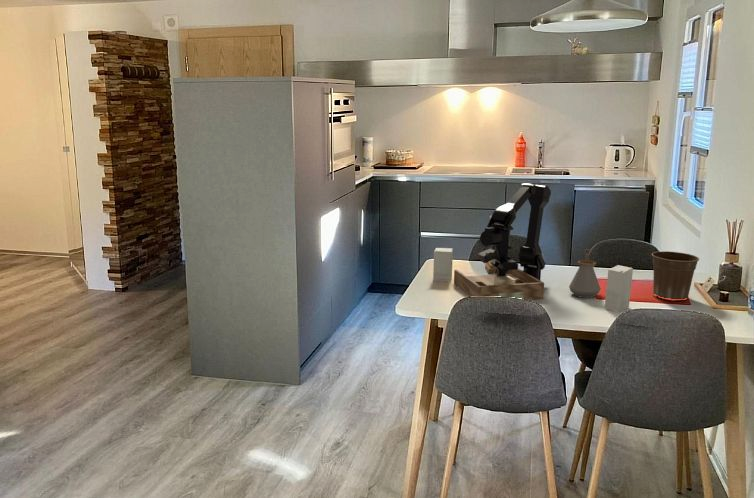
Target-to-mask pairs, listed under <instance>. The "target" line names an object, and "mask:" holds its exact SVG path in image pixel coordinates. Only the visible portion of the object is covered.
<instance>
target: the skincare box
mask: <svg viewBox="0 0 754 498" xmlns="http://www.w3.org/2000/svg"><path fill="white" fill-rule="evenodd" d="M633 270H634V268H632V267H630V266H629V267H628V266H623V265H619V264H617V265H615V266H614V267H611V268H609V269H608V271H607V281H606V290H605V301H604V309H606V310H608V309H609V311H613V312H616V311H617V313H621V312H622V311H624V310H626V309H628V308H629V307H630V303H631V302H630V300H631V292H632V291H631V290H632V284H633V283H632V282H633V272H634V271H633Z"/></svg>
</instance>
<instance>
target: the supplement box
mask: <svg viewBox="0 0 754 498" xmlns="http://www.w3.org/2000/svg"><path fill="white" fill-rule="evenodd" d="M453 252H454V248H451V247H450V248H449V247H435V248H434V251H433V268H432V269H433V271H432V272H433V273H432V275H433V276H432V281H433V282H443V283H445V282H447V283H451V281H452V278H453V256H454V255H453Z"/></svg>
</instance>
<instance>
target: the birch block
mask: <svg viewBox="0 0 754 498" xmlns="http://www.w3.org/2000/svg"><path fill="white" fill-rule="evenodd" d="M505 284H515V279H513V278H512V277H510V276H496V277H494V285H505Z"/></svg>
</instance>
